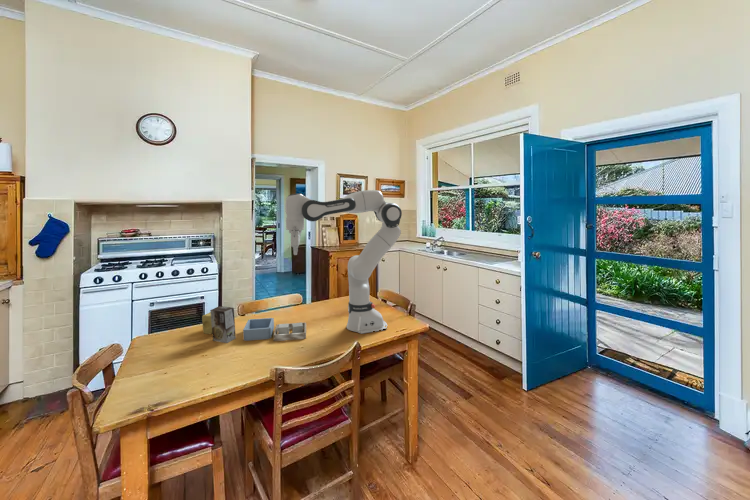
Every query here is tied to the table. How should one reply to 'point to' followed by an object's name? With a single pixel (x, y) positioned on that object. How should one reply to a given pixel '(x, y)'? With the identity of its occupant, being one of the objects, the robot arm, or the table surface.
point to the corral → (289, 336)
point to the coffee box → (223, 324)
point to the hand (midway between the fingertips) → (295, 253)
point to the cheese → (207, 323)
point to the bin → (258, 329)
